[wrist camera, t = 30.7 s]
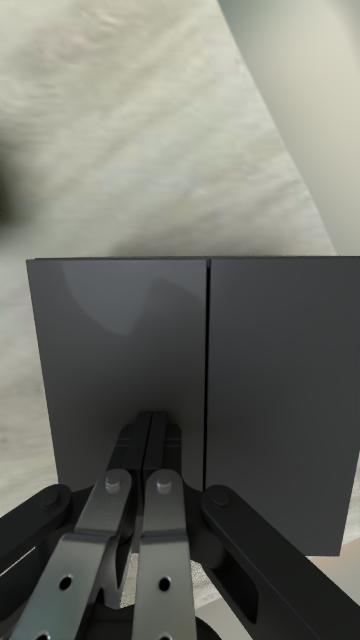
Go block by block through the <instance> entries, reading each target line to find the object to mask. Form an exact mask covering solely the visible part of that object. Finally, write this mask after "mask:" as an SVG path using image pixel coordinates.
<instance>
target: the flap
mask: <svg viewBox="0 0 360 640" xmlns="http://www.w3.org/2000/svg"><path fill="white" fill-rule="evenodd" d="M26 265H27V272H28V279H29V286H30V292H31V299H32V306H33V313H34V320H35V326H36V333H37V340H38V347H39V353H40V360H41V367H42V374H43V380H44V387H45V394H46V401H47V408H48V414H49V421H50V428H51V435H52V441H53V448H54V455H55V462H56V468H57V475H58V482H59V484H64V485H66V486H68V487H69V488H70V489H71V492H75V491H78V490H82V489H85V488H88V487H90V486H92V485H94V484H96V482H97V480H98V478H99V477H100V476H101V475H102V474H104V473H105V472H106V469H107V466H108V464H109V461H110V458H111V455H112V452H113V450H114V447H115V444H116V441H117V440H118V436H119V433H120V430H121V429H122V428H123V427H124V426H125V425H126V424H135V422H136V418H137V415H138V413H152V414H154V413H168V424H178V425H179V427H180V429H181V430H182V478H183V480H184V481H185V483H186V484H187V485H188V486H190V487H191V488H193V489H196V490H198V491H202V492H203V450H204V398H205V345H206V293H207V259H206V258H196V259H32V260H26ZM144 510H145V509H144ZM143 522H144V515H143V517H136V522H135V533H136V537H135V542H134V546H133V550H132V553H139V547H140V538H141V536H142V534H143Z"/></svg>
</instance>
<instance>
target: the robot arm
mask: <svg viewBox="0 0 360 640" xmlns="http://www.w3.org/2000/svg"><path fill="white" fill-rule="evenodd" d="M144 509H145V510H144ZM143 515H144V522H143V534H142V536H141V538H140V547H139V559H138V571H137V583H136V594H135V604H133V605H130V606H127V607H124V608H121V609H120V602H121V596H122V592H123V587H124V583H125V579H126V575H127V571H128V567H129V562H130V558H131V554H132V550H133V546H134V542H135V537H136V533H135V522H136V517H143ZM34 547H35V549H33V550H32V551H31V552H30V553H29V554H27V555H26V556H25V557H24V558H22V559H21V560H20V561H19V562H18V563H16V564H15V565H14V566H13V567H11V568H10V569H9V570H8V571H7V572H5V573H4V574H3V575H2V576H0V639H1V638H2V639H1V640H222V639H221V638H220V637H219V635H218V634H217V633H216V632H215V631H214V630H213V629H212V628H211V627H210V626H209V625H208V624H207V623H205V622H204V621H203V620H201V619H200V618H198V617H196V616H195V609H194V597H193V586H192V574H191V562H190V560H193V561H195V562H197V563H200V564H201V566H202V568H203V570H204V572H205V573H206V575H207V576H208V577H209V579H210V580H211V582H212V583H213V584H214V586H215V587H216V589H217V590H218V591H219V593H220V594H221V596H222V597H223V598H224V600H225V601H226V602H227V604H228V605H229V607H230V608H231V610H232V611H233V612H234V614H235V615H236V617H237V618H238V619H239V621H240V622H241V623H242V625H243V626H244V628H245V629H246V630H247V632H248V633H249V635H250V636H251V638H252V639H253V640H360V606H359V605H358V604H357V603H355V602H354V601H353V600H352V599H351V598H350V597H349V596H348V595H347V594H346V593H345V592H343V591H342V590H341V589H340V588H339V587H338V586H337V585H336V584H335V583H334V582H333V581H331V580H330V579H329V578H328V577H327V576H326V575H325V574H324V573H323V572H322V571H321V570H320V569H318V568H317V567H316V566H315V565H314V564H313V563H312V562H311V561H310V560H309V559H308V558H307V557H305V556H304V555H303V554H302V553H301V552H300V551H299V550H298V549H297V548H296V547H295V546H293V545H292V544H291V543H290V542H289V541H288V540H287V539H286V538H285V537H284V536H283V535H281V534H280V533H279V532H278V531H277V530H276V529H275V528H274V527H273V526H272V525H271V524H270V523H268V522H267V521H266V520H265V519H264V518H263V517H262V516H261V515H260V514H259V513H258V512H256V511H255V510H254V509H253V508H252V507H251V506H250V505H249V504H248V503H247V502H246V501H244V500H243V499H242V498H241V497H240V496H239V495H238V494H237V493H236V492H235V491H234V490H232V489H231V488H229V487H227V486H225V485H220V484H216V485H212V486H209V487H208V488H206V489H205V490H204V492H202V491H198V490H196V489H193V488H191V487H190V486H188V485H187V484H186V483H185V481H184V480H183V478H182V430H181V429H180V427H179V425H178V424H168V413H154V414H152V413H138V415H137V418H136V422H135V424H126V425H125V426H124V427H123V428H122V429H121V430H120V433H119V436H118V440H117V441H116V444H115V447H114V450H113V452H112V455H111V458H110V461H109V464H108V466H107V469H106V472H105V473H104V474H102V475H101V476H100V477H99V478H98V480H97V482H96V484H94V485H92V486H90V487H88V488H85V489H82V490H78V491H75V492H71V489H70V488H69V487H68V486H66V485H64V484H55V485H51V486H48V487H46V488H44V489H43V490H41V491H40V492H38V493H37V494H35V495H34V496H32V497H31V498H29V499H28V500H26V501H25V502H23V503H22V504H20V505H19V506H17V507H16V508H14V509H13V510H11V511H10V512H8V513H7V514H5V515H4V516H3V517H1V518H0V574H2V573H3V572H4V571H5V570H7V569H8V568H9V567H10V566H11V565H13V564H14V563H15V562H16V561H18V560H19V559H20V558H21V557H22V556H24V555H25V554H26V553H27V552H29V551H30V550H31V549H32V548H34Z"/></svg>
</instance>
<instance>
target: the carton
mask: <svg viewBox="0 0 360 640" xmlns="http://www.w3.org/2000/svg"><path fill="white" fill-rule="evenodd" d="M196 258H206V259H207V293H206V345H205V398H204V450H203V492H204V490H205V489H206V488H208V487H209V486H212V485H216V484H220V485H225V486H227V487H229V488H231V489H232V490H234V491H235V492H236V493H237V494H238V495H239V496H240V497H241V498H242V499H243V500H244V501H246V502H247V503H248V504H249V505H250V506H251V507H252V508H253V509H254V510H255V511H256V512H258V513H259V514H260V515H261V516H262V517H263V518H264V519H265V520H266V521H267V522H268V523H270V524H271V525H272V526H273V527H274V528H275V529H276V530H277V531H278V532H279V533H280V534H281V535H283V536H284V537H285V538H286V539H287V540H288V541H289V542H290V543H291V544H292V545H293V546H295V547H296V548H297V549H298V550H299V551H300V552H301V553H302V554H303V555H304V556H339V555H340V550H341V545H342V540H343V534H344V529H345V524H346V519H347V514H348V508H349V503H350V498H351V493H352V488H353V483H354V477H355V472H356V467H357V462H358V457H359V452H360V256H160V257H73V258H35V259H196Z"/></svg>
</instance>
